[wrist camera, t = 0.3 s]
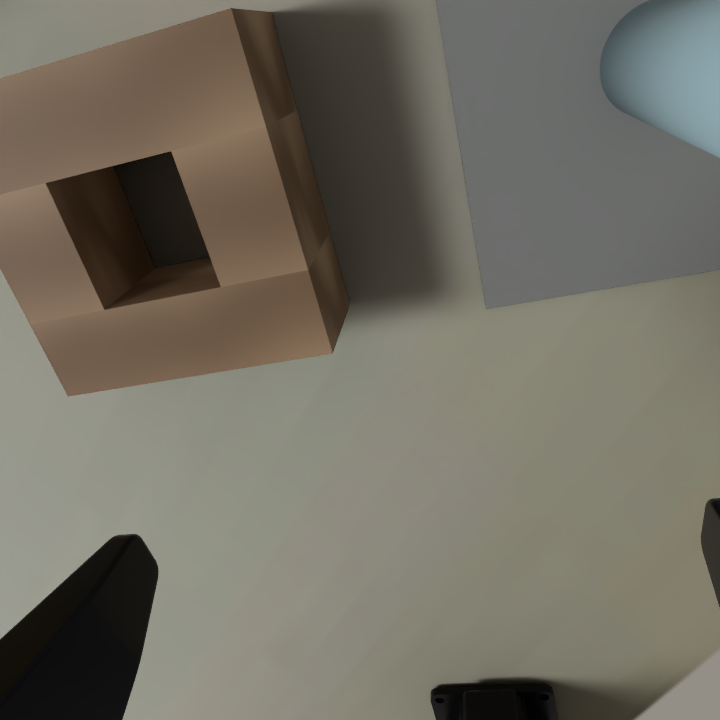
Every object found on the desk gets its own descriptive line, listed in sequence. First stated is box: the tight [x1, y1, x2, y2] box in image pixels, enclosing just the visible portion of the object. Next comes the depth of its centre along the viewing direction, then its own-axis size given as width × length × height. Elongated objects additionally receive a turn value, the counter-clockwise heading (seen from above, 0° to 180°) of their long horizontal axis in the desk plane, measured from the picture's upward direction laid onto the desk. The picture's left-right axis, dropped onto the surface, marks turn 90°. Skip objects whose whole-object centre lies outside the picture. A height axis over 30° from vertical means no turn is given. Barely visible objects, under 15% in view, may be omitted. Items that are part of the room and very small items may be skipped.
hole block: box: [0, 8, 350, 396], centre depth 20 cm, size 10×10×4 cm
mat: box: [436, 0, 720, 309], centre depth 18 cm, size 14×12×1 cm
